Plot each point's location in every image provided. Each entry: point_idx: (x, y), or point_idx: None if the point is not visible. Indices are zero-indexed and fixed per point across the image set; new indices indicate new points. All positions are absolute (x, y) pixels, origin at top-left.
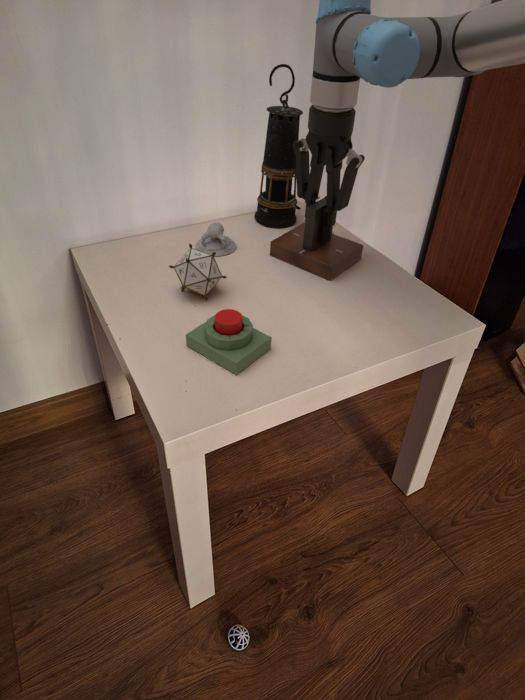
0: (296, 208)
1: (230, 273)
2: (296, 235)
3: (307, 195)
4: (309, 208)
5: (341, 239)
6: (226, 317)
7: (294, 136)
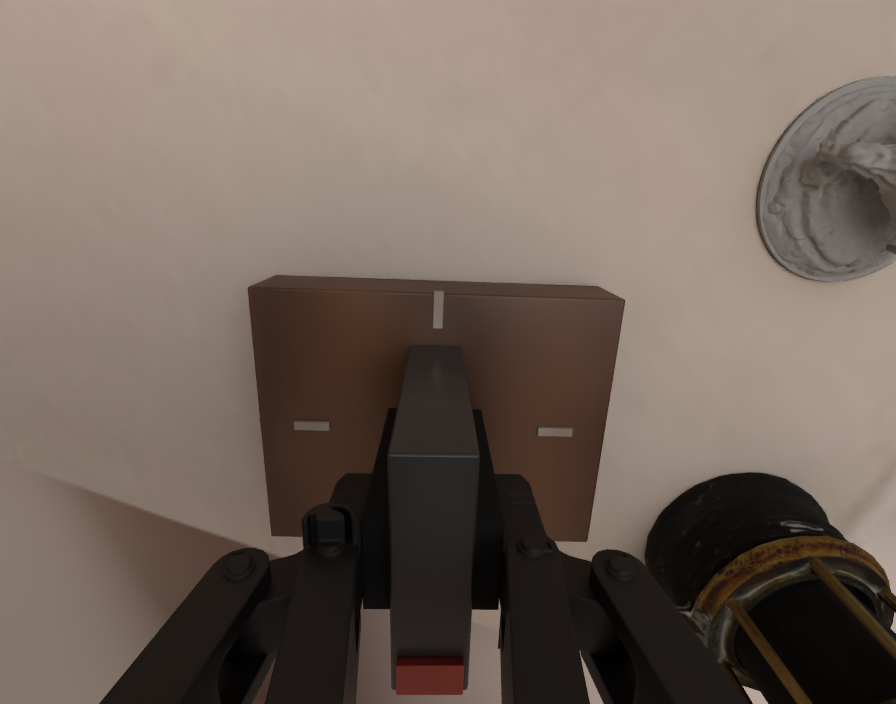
0: None
1: (667, 14)
2: (550, 426)
3: (547, 580)
4: (449, 456)
5: None
6: None
7: None
